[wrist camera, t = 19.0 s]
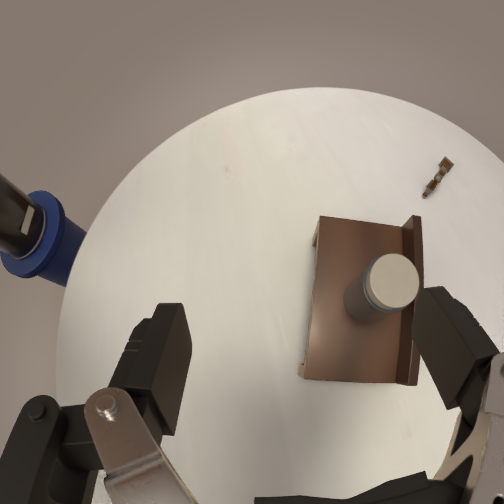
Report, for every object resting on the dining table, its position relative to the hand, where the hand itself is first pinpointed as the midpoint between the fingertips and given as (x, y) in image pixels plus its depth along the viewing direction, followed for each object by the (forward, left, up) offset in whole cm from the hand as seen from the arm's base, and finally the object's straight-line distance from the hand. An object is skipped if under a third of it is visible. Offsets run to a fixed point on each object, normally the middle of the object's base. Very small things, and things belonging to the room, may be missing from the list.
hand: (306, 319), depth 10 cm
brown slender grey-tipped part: (+20, +24, -25) cm, 40 cm away
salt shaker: (+7, +5, -19) cm, 20 cm away
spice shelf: (+7, +5, -24) cm, 26 cm away
